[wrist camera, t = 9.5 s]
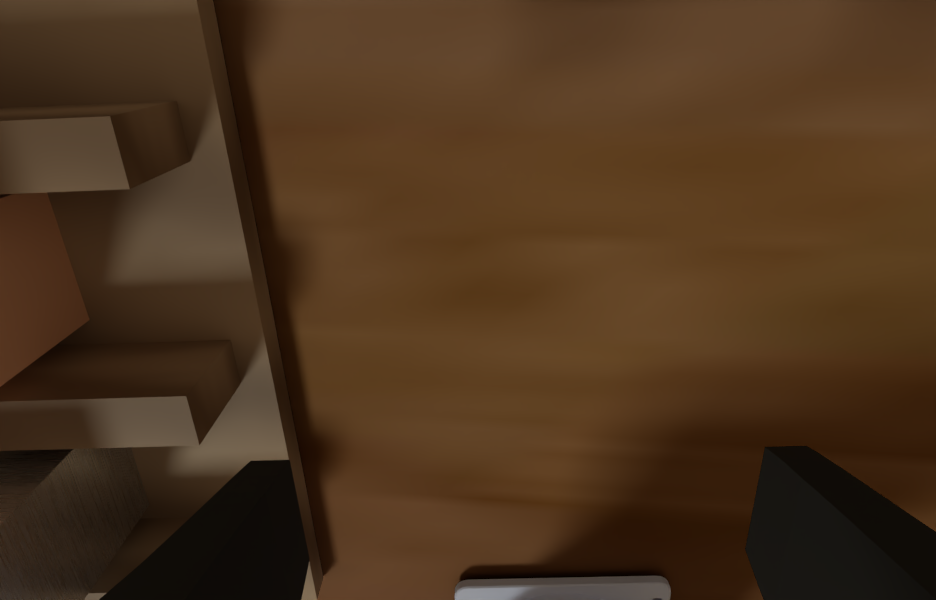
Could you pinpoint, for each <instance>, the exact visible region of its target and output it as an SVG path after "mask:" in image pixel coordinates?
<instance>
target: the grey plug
mask: <svg viewBox="0 0 936 600" xmlns="http://www.w3.org/2000/svg"><path fill="white" fill-rule="evenodd" d="M149 505H150V504H149V501H148V498H147V495H146V492H145V489H144V486H143V483H142V480H141V477H140V474H139V471H138V468H137V464H136V461H135V458H134V455H133V452H132V449H131V447H125V448H89V449H53V450H16V451H0V600H84V599H85V598H86V596H87V595H88V593H89V592H90V590H91V589H92V587H93V586H94V585H95V583H96V582H97V580H98V579H99V577H100V576H101V574H102V573H103V571H104V570H105V569H106V567H107V566H108V564H109V563H110V561H111V560H112V558H113V557H114V555H115V554H116V553H117V551H118V550H119V548H120V547H121V545H122V544H123V542H124V541H125V539H126V538H127V537H128V535H129V534H130V532H131V531H132V529H133V528H134V526H135V525H136V524H137V522H138V521H139V519H140V518H141V516H142V515H143V513H144V512H145V510H146V509H147V508H148V506H149Z"/></svg>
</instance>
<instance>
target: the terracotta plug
mask: <svg viewBox="0 0 936 600" xmlns="http://www.w3.org/2000/svg"><path fill="white" fill-rule="evenodd" d="M89 320H90V319H89V316H88V313H87V310H86V307H85V304H84V302H83V299H82V296H81V293H80V290H79V287H78V284H77V281H76V278H75V275H74V272H73V269H72V266H71V263H70V260H69V257H68V254H67V251H66V248H65V245H64V242H63V239H62V236H61V233H60V230H59V227H58V224H57V221H56V218H55V215H54V212H53V209H52V206H51V203H50V200H49V197H48V194H47V192H46V193H20V194H0V387H1V386H2V385H3V384H5V383H6V382H7V381H9V380H10V379H11V378H13V377H14V376H15V375H17V374H18V373H19V372H21V371H22V370H23V369H25V368H26V367H27V366H29V365H30V364H31V363H33V362H34V361H35V360H37V359H38V358H39V357H41V356H42V355H43V354H45V353H46V352H47V351H49V350H50V349H51V348H53V347H54V346H55V345H57V344H58V343H59V342H61V341H62V340H63V339H65V338H66V337H67V336H69V335H70V334H71V333H73V332H74V331H75V330H77V329H78V328H79V327H81V326H82V325H83V324H85V323H86V322H87V321H89Z"/></svg>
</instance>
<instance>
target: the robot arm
mask: <svg viewBox="0 0 936 600" xmlns="http://www.w3.org/2000/svg"><path fill="white" fill-rule="evenodd" d="M745 550H746V553H747V555H748V558H749V561H750V564H751V566H752V569H753V572H754V575H755V578H756V580H757V583H758V586H759V589H760V591H761V594H762V596H763V599H764V600H936V532H935V531H934V530H932V529H931V528H929V527H928V526H926V525H925V524H923V523H922V522H920V521H919V520H917V519H916V518H914V517H913V516H911V515H910V514H908V513H907V512H905V511H904V510H902V509H901V508H899V507H898V506H896V505H895V504H894V503H892V502H891V501H889V500H888V499H886V498H885V497H883V496H882V495H880V494H879V493H877V492H876V491H874V490H873V489H872V488H870V487H869V486H867V485H866V484H864V483H863V482H861V481H860V480H858V479H857V478H855V477H854V476H852V475H851V474H849V473H848V472H846V471H845V470H843V469H842V468H840V467H839V466H837V465H836V464H834V463H833V462H831V461H830V460H828V459H827V458H825V457H824V456H822V455H820V454H819V453H817V452H816V451H814V450H812V449H811V448H809V447H807V446H785V447H765V450H764V455H763V460H762V465H761V471H760V476H759V481H758V486H757V491H756V497H755V502H754V507H753V512H752V517H751V522H750V528H749V533H748V538H747V543H746V548H745ZM309 560H310V558H309V553H308V548H307V543H306V538H305V533H304V528H303V523H302V518H301V513H300V508H299V503H298V498H297V493H296V488H295V483H294V478H293V473H292V468H291V463H290V460H261V461H250V462H249V463H248V464H247V465H245V466H244V467H243V468H242V469H241V470H240V471H239V472H238V473H237V474H236V475H235V476H233V477H232V478H231V479H230V480H229V481H228V482H227V483H226V484H225V485H224V486H223V487H222V488H221V489H220V490H219V491H218V492H217V493H216V494H215V495H214V496H212V497H211V498H210V499H209V500H208V501H207V502H206V503H205V504H204V505H203V506H202V507H201V508H200V509H199V510H198V511H197V512H196V513H195V514H194V515H193V516H192V517H190V518H189V519H188V520H187V521H186V522H185V523H184V524H183V525H182V526H181V527H180V528H179V529H178V530H177V531H175V532H174V533H173V534H172V535H171V536H170V537H169V538H168V539H167V540H166V541H165V542H164V543H163V544H161V545H160V546H159V547H158V548H157V549H156V550H155V551H154V552H153V553H152V554H151V555H150V556H148V557H147V558H146V559H145V560H144V561H143V562H142V563H141V564H140V565H139V566H137V567H136V568H135V569H134V570H133V571H132V572H131V573H129V574H128V575H127V576H126V577H125V578H124V579H122V580H121V581H120V582H119V583H118V584H117V585H115V586H114V587H113V588H112V589H111V590H110V591H108V592H107V593H106V594H105V595H104V596H103V597H101V598H100V599H99V600H301V599H302V595H303V590H304V585H305V580H306V575H307V570H308V565H309ZM670 596H671V588H670V585H669V582H668V581H667V579H666V578H664V577H662V576H612V577H564V578H517V579H470V580H463V581H461V582H459V583H458V584H457V585H456V588H455V600H670ZM654 598H655V599H654Z"/></svg>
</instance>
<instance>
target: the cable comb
mask: <svg viewBox="0 0 936 600" xmlns="http://www.w3.org/2000/svg"><path fill="white" fill-rule="evenodd" d="M46 192H47V194H48V197H49V200H50V203H51V206H52V209H53V212H54V215H55V218H56V221H57V224H58V227H59V230H60V233H61V236H62V239H63V242H64V245H65V248H66V251H67V254H68V257H69V260H70V263H71V266H72V269H73V272H74V275H75V278H76V281H77V284H78V287H79V290H80V293H81V296H82V299H83V302H84V304H85V307H86V310H87V313H88V316H89V319H90V320H89V321H87V322H86V323H85V324H83V325H82V326H81V327H79V328H78V329H77V330H75V331H74V332H73V333H71V334H70V335H69V336H67V337H66V338H65V339H63V340H62V341H61V342H59V343H58V344H57V345H55V346H54V347H53V348H51V349H50V350H49V351H47V352H46V353H45V354H43V355H42V356H41V357H39V358H38V359H37V360H35V361H34V362H33V363H31V364H30V365H29V366H27V367H26V368H25V369H23V370H22V371H21V372H19V373H18V374H17V375H15V376H14V377H13V378H11V379H10V380H9V381H7V382H6V383H5V384H3V385H2V386H1V387H0V451H16V450H53V449H89V448H125V447H131V449H132V452H133V455H134V458H135V461H136V464H137V468H138V471H139V474H140V477H141V480H142V483H143V486H144V489H145V492H146V495H147V498H148V501H149V504H150V505H149V506H148V508H147V509H146V510H145V512H144V513H143V515H142V516H141V518H140V519H139V521H138V522H137V524H136V525H135V526H134V528H133V529H132V531H131V532H130V534H129V535H128V537H127V538H126V539H125V541H124V542H123V544H122V545H121V547H120V548H119V550H118V551H117V553H116V554H115V555H114V557H113V558H112V560H111V561H110V563H109V564H108V566H107V567H106V569H105V570H104V571H103V573H102V574H101V576H100V577H99V579H98V580H97V582H96V583H95V585H94V586H93V587H92V589H91V590H90V592H89V593H88V595H87V596H86V598H85V599H84V600H99V599H100V598H101V597H103V596H104V595H105V594H106V593H107V592H108V591H110V590H111V589H112V588H113V587H114V586H115V585H117V584H118V583H119V582H120V581H121V580H122V579H124V578H125V577H126V576H127V575H128V574H129V573H131V572H132V571H133V570H134V569H135V568H136V567H137V566H139V565H140V564H141V563H142V562H143V561H144V560H145V559H146V558H147V557H148V556H150V555H151V554H152V553H153V552H154V551H155V550H156V549H157V548H158V547H159V546H160V545H161V544H163V543H164V542H165V541H166V540H167V539H168V538H169V537H170V536H171V535H172V534H173V533H174V532H175V531H177V530H178V529H179V528H180V527H181V526H182V525H183V524H184V523H185V522H186V521H187V520H188V519H189V518H190V517H192V516H193V515H194V514H195V513H196V512H197V511H198V510H199V509H200V508H201V507H202V506H203V505H204V504H205V503H206V502H207V501H208V500H209V499H210V498H211V497H212V496H214V495H215V494H216V493H217V492H218V491H219V490H220V489H221V488H222V487H223V486H224V485H225V484H226V483H227V482H228V481H229V480H230V479H231V478H232V477H233V476H235V475H236V474H237V473H238V472H239V471H240V470H241V469H242V468H243V467H244V466H245V465H247V464H248V463H249V462H250V461H261V460H290V463H291V468H292V473H293V478H294V483H295V488H296V493H297V498H298V503H299V508H300V513H301V518H302V523H303V528H304V533H305V538H306V543H307V548H308V553H309V558H310V560H309V565H308V570H307V575H306V580H305V585H304V590H303V595H302V599H301V600H317V598H318V595H319V591H320V587H321V584H322V580H323V573H322V568H321V563H320V557H319V552H318V547H317V542H316V536H315V531H314V526H313V521H312V515H311V510H310V505H309V500H308V494H307V489H306V484H305V479H304V473H303V468H302V463H301V458H300V453H299V447H298V442H297V437H296V432H295V426H294V421H293V416H292V411H291V405H290V400H289V395H288V390H287V384H286V379H285V374H284V369H283V363H282V358H281V353H280V348H279V343H278V337H277V332H276V327H275V322H274V316H273V311H272V306H271V301H270V295H269V290H268V285H267V280H266V274H265V269H264V264H263V259H262V254H261V248H260V243H259V238H258V233H257V227H256V222H255V217H254V212H253V206H252V201H251V196H250V191H249V185H248V180H247V175H246V170H245V164H244V159H243V154H242V149H241V144H240V138H239V133H238V128H237V123H236V117H235V112H234V107H233V102H232V96H231V91H230V86H229V81H228V75H227V70H226V65H225V60H224V54H223V49H222V44H221V39H220V34H219V28H218V23H217V18H216V13H215V7H214V2H213V0H0V194H20V193H46Z"/></svg>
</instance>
